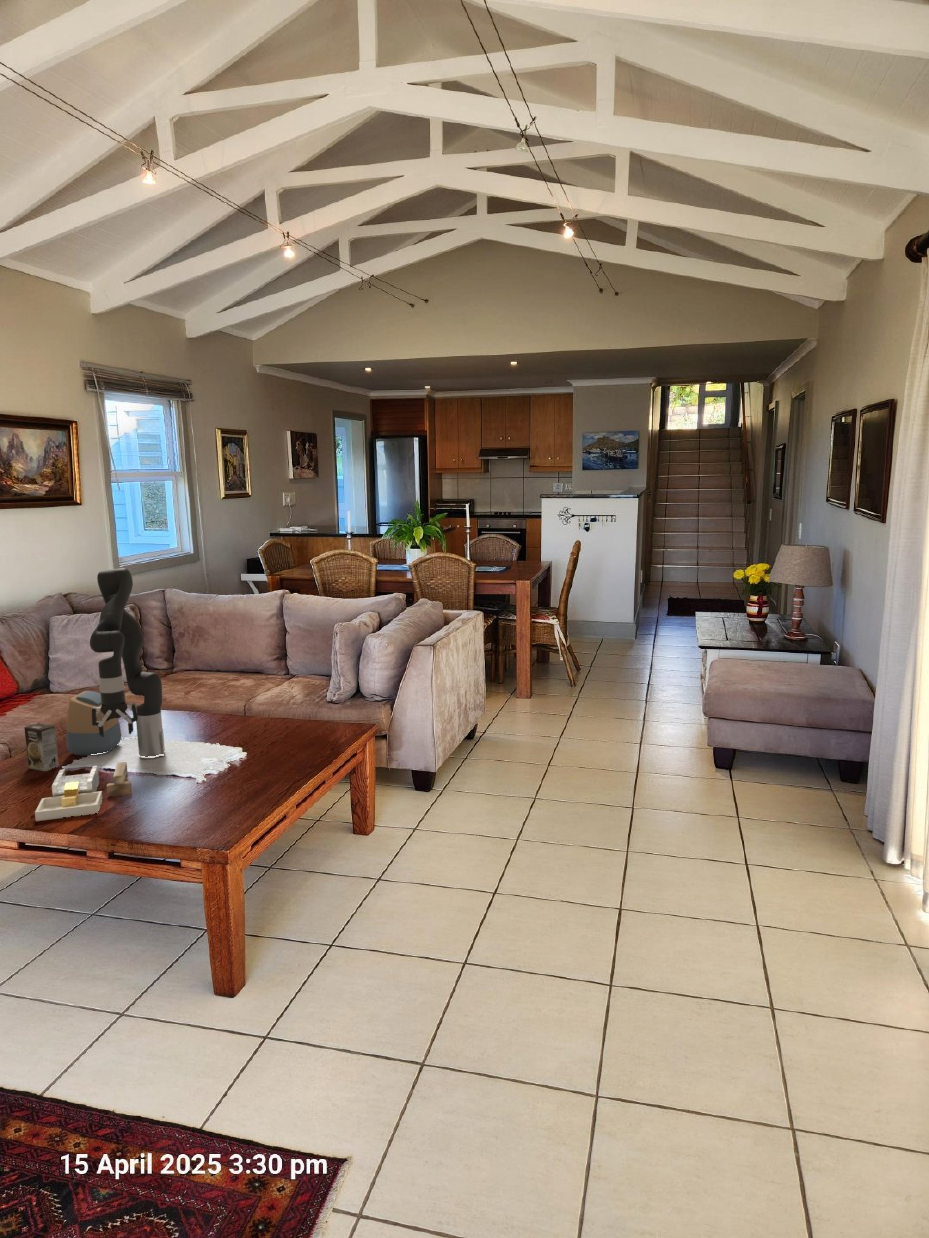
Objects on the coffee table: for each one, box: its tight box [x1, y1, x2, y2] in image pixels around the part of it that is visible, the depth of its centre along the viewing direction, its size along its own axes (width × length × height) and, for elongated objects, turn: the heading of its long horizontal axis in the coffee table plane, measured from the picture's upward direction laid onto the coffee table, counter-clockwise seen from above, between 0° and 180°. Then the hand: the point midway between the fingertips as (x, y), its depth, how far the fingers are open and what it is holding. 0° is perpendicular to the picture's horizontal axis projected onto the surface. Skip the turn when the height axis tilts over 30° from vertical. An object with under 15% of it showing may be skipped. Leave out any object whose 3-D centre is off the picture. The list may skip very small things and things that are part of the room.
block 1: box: [64, 782, 80, 799], centre depth 262 cm, size 4×4×4 cm
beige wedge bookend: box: [106, 761, 133, 798], centre depth 276 cm, size 8×14×7 cm, turn 18°
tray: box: [34, 790, 104, 822], centre depth 258 cm, size 18×12×3 cm, turn 108°
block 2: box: [61, 793, 78, 808], centre depth 258 cm, size 4×4×4 cm
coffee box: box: [23, 722, 60, 772], centre depth 298 cm, size 9×6×16 cm
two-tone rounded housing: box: [65, 690, 122, 756], centre depth 316 cm, size 17×17×23 cm
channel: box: [51, 765, 100, 797], centre depth 272 cm, size 12×16×6 cm
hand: (116, 734), depth 273 cm, fingers open, 8 cm apart
